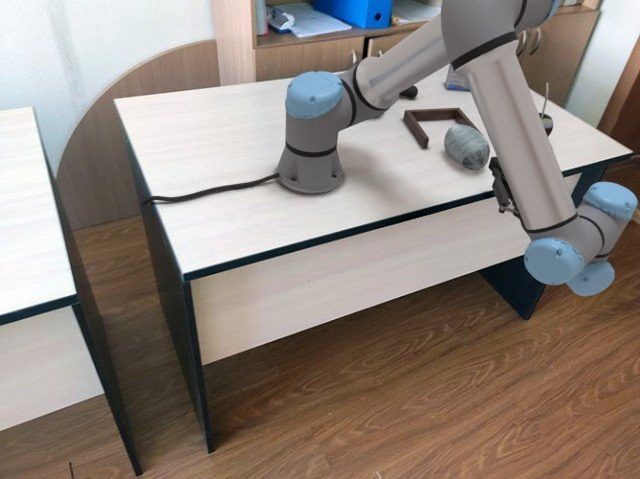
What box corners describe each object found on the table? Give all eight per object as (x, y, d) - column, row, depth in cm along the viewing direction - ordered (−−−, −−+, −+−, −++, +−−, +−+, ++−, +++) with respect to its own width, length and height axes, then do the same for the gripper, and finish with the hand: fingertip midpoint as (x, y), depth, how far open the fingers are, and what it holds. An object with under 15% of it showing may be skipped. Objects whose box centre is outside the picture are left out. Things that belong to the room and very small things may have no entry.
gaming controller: (394, 84, 167) (371, 69, 162) (405, 69, 164) (382, 53, 159) (409, 107, 155) (385, 92, 150) (422, 92, 152) (397, 76, 147)
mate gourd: (533, 153, 134) (554, 100, 124) (510, 139, 139) (528, 87, 129) (551, 146, 137) (573, 94, 127) (528, 133, 142) (547, 82, 132)
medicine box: (446, 89, 161) (453, 62, 155) (444, 83, 164) (450, 57, 158) (471, 91, 161) (479, 64, 155) (469, 85, 164) (476, 58, 158)
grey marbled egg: (503, 162, 123) (491, 127, 118) (468, 182, 123) (455, 148, 118) (476, 146, 135) (464, 113, 130) (444, 164, 135) (431, 132, 130)
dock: (422, 148, 132) (425, 138, 130) (403, 119, 144) (404, 110, 142) (480, 145, 135) (483, 135, 134) (456, 117, 147) (459, 107, 145)
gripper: (512, 245, 99) (462, 177, 117) (570, 239, 102) (513, 173, 119) (524, 215, 94) (470, 149, 112) (585, 209, 97) (523, 145, 114)
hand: (492, 161), depth 115 cm, fingers closed
